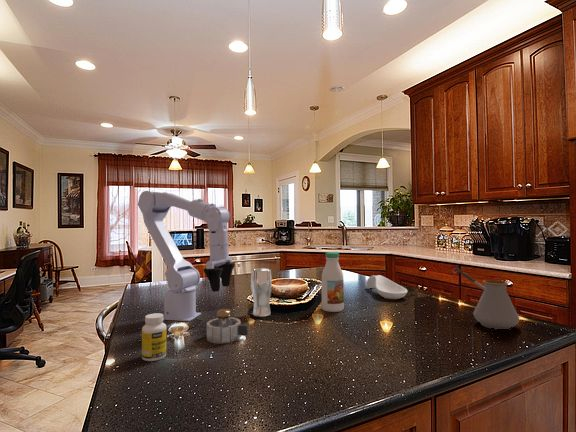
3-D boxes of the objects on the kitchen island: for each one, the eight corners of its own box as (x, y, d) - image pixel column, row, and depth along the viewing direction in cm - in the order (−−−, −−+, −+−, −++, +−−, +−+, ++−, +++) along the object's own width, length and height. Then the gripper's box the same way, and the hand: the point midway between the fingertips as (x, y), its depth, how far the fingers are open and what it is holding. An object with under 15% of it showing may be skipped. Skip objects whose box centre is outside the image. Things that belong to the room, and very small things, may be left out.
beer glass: (268, 317, 106) (267, 271, 106) (248, 316, 108) (247, 270, 108) (274, 311, 113) (274, 268, 113) (255, 310, 114) (254, 267, 114)
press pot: (200, 342, 86) (200, 326, 86) (215, 330, 95) (215, 316, 95) (241, 345, 84) (241, 329, 84) (252, 332, 92) (252, 318, 92)
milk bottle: (319, 311, 113) (318, 253, 113) (325, 305, 120) (324, 251, 120) (341, 313, 110) (340, 254, 110) (346, 307, 117) (345, 251, 117)
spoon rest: (413, 300, 126) (413, 282, 126) (386, 303, 123) (386, 284, 123) (381, 287, 149) (381, 272, 149) (357, 289, 146) (357, 273, 146)
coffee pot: (529, 330, 92) (529, 276, 92) (498, 334, 89) (497, 279, 89) (468, 309, 113) (468, 266, 113) (441, 312, 110) (440, 267, 110)
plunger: (208, 338, 87) (208, 313, 87) (218, 330, 93) (217, 307, 93) (230, 340, 86) (229, 314, 86) (238, 332, 92) (238, 308, 92)
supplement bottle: (151, 364, 73) (151, 320, 73) (137, 358, 76) (136, 316, 76) (171, 355, 78) (171, 314, 78) (157, 350, 81) (156, 310, 81)
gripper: (221, 246, 95) (223, 293, 94) (239, 243, 109) (241, 283, 109) (198, 247, 96) (200, 293, 96) (219, 243, 110) (221, 284, 110)
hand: (220, 288), depth 102 cm, fingers open, 7 cm apart
